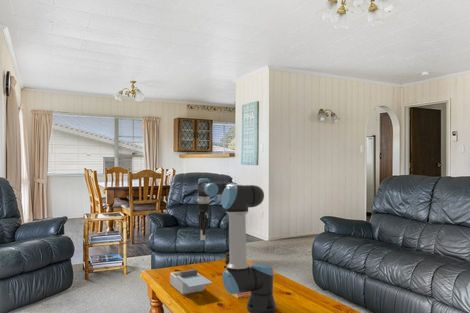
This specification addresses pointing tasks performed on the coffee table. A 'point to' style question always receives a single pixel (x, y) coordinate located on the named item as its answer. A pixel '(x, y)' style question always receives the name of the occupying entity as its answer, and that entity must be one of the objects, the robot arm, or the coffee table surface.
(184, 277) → the lid
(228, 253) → the music box
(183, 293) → the box
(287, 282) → the coffee table surface
